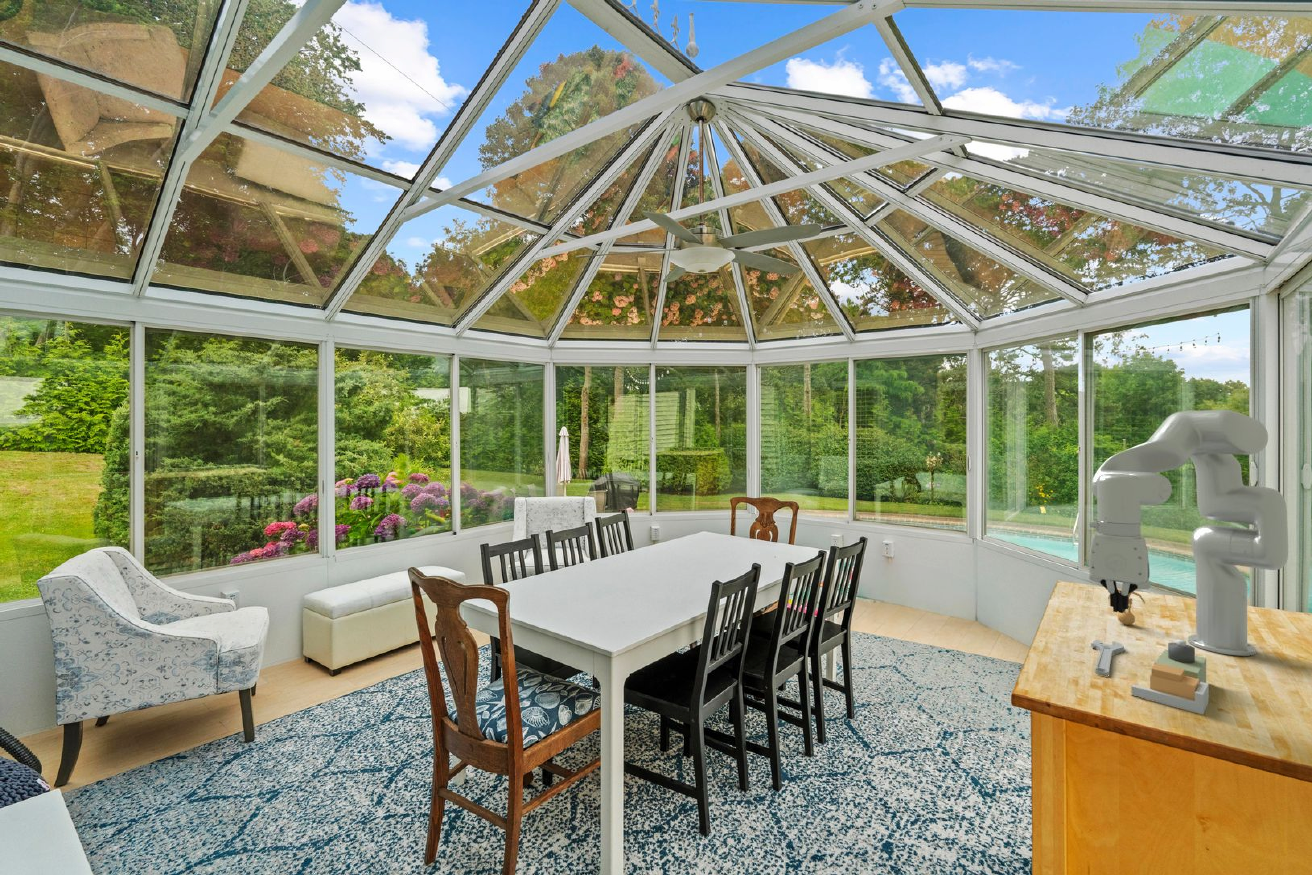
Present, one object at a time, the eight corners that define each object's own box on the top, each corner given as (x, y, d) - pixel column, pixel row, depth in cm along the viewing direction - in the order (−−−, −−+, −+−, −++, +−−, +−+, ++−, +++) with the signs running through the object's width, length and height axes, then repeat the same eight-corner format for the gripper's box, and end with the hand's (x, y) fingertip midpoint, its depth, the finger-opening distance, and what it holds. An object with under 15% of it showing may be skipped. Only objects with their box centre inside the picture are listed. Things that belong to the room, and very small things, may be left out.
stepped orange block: (1155, 691, 125) (1155, 662, 125) (1199, 702, 120) (1199, 672, 120) (1150, 698, 122) (1150, 668, 122) (1194, 710, 117) (1194, 679, 117)
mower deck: (1151, 669, 137) (1151, 628, 136) (1216, 684, 128) (1216, 641, 128) (1131, 695, 124) (1131, 650, 123) (1202, 714, 115) (1202, 666, 115)
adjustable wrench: (1108, 680, 132) (1108, 672, 132) (1074, 672, 137) (1074, 664, 137) (1125, 649, 150) (1125, 643, 150) (1094, 643, 154) (1094, 637, 154)
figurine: (1144, 625, 167) (1144, 584, 167) (1145, 631, 162) (1145, 588, 162) (1108, 620, 172) (1108, 580, 172) (1108, 625, 167) (1107, 584, 167)
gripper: (1073, 527, 132) (1074, 607, 132) (1159, 536, 120) (1159, 623, 120) (1082, 523, 137) (1083, 600, 137) (1166, 531, 125) (1166, 615, 125)
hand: (1119, 610), depth 129 cm, fingers closed
